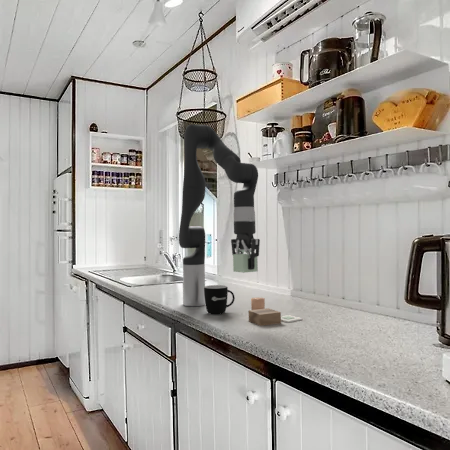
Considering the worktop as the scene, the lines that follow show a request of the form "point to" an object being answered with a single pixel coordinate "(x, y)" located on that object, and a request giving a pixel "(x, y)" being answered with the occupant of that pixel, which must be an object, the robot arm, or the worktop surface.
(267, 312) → the walnut block
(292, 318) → the tile
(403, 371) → the worktop surface
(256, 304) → the terracotta cylinder
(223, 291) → the mug
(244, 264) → the sage cube
